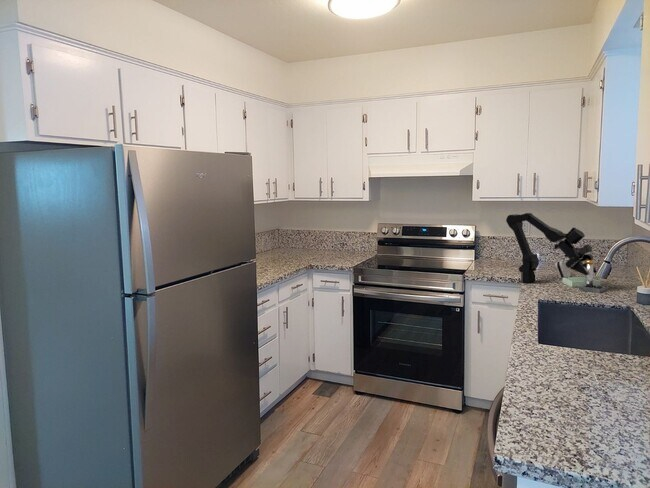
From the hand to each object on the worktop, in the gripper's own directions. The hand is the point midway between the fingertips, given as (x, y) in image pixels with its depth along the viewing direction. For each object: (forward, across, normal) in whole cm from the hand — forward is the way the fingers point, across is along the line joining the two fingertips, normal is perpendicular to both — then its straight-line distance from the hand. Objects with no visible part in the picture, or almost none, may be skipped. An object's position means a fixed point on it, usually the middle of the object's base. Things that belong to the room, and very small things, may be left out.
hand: (591, 273), depth 228 cm
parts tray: (-1, +11, +13) cm, 17 cm away
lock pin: (+5, 0, +7) cm, 9 cm away
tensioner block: (+6, 0, +6) cm, 9 cm away
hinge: (-14, +31, +27) cm, 44 cm away
